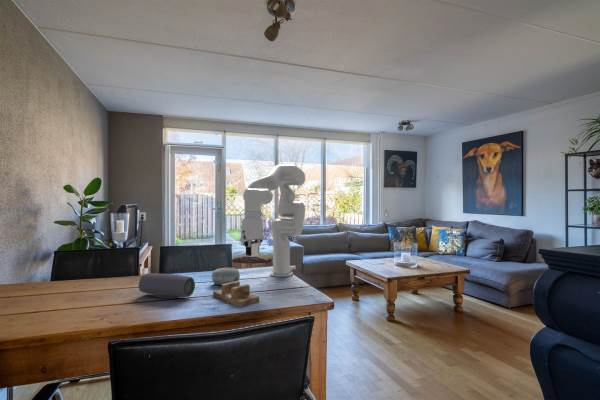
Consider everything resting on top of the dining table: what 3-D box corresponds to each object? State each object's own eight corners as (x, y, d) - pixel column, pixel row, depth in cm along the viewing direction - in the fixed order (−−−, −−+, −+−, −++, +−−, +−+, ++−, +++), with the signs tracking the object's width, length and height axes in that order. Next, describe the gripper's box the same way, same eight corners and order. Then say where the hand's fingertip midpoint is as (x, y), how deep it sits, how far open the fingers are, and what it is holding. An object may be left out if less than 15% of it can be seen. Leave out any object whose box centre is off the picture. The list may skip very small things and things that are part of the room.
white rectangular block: (253, 254, 150) (253, 240, 150) (258, 255, 147) (258, 241, 147) (246, 255, 147) (246, 241, 147) (251, 257, 145) (251, 242, 144)
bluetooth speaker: (195, 296, 140) (195, 273, 140) (182, 302, 131) (182, 278, 131) (152, 291, 146) (152, 270, 146) (137, 297, 137) (137, 274, 137)
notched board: (232, 291, 147) (232, 278, 147) (259, 301, 133) (259, 287, 133) (213, 295, 140) (213, 282, 140) (239, 307, 126) (239, 292, 126)
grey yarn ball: (242, 274, 165) (236, 259, 161) (241, 287, 157) (235, 272, 152) (217, 280, 165) (210, 266, 161) (214, 293, 157) (207, 279, 152)
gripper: (261, 214, 156) (261, 251, 156) (232, 215, 144) (232, 256, 144) (271, 215, 150) (271, 253, 151) (242, 216, 138) (242, 258, 139)
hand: (252, 254), depth 147 cm, fingers closed on white rectangular block, 4 cm apart
